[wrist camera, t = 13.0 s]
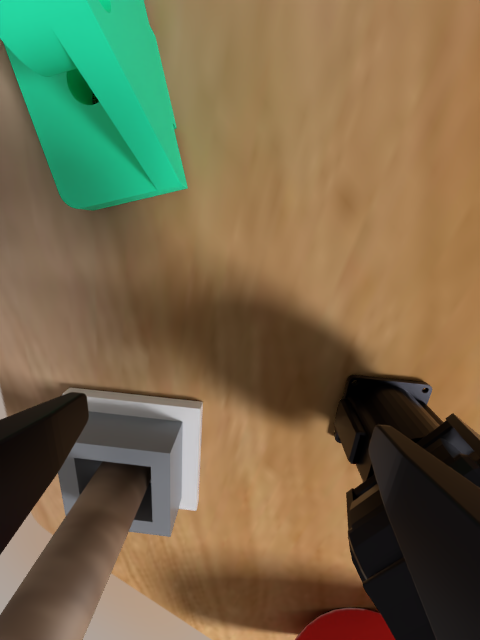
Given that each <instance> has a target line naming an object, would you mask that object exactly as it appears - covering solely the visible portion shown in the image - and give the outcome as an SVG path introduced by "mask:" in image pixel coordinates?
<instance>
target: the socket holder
mask: <svg viewBox="0 0 480 640" xmlns="http://www.w3.org/2000/svg"><path fill="white" fill-rule="evenodd" d="M70 392H79V393H84V394H86V396H87V402H88V411H89V419H88V422H87V424H86V426H85V427H84V429H83V431H82V433H81V434H80V436H79V438H78V440H77V441H76V443H75V445H74V446H73V448H72V450H71V452H70V453H69V455H68V457H67V459H66V460H65V462H64V464H63V465H62V467H61V469H60V470H59V472H58V475H59V481H60V487H61V492H62V498H63V503H64V509H65V514H66V516H67V514H68V513H69V511H70V510H71V508H72V507H73V505H74V504H75V502H76V501H77V499H78V498H79V496H80V495H81V493H82V492H83V490H84V489H85V487H86V486H87V484H88V483H89V481H90V480H91V478H92V476H93V475H94V473H95V472H96V470H97V469H98V467H99V466H100V464H101V463H102V461H106V462H114V463H123V464H131V465H140V466H148V467H151V480H150V482H149V485H148V487H147V490H146V492H145V494H144V497H143V499H142V501H141V504H140V506H139V508H138V511H137V513H136V515H135V518H134V520H133V522H132V525H131V527H130V530H129V532H137V533H145V534H153V535H160V536H168V537H171V533H172V530H173V526H174V523H175V519H176V516H177V512H178V509H186V510H194V511H196V510H197V506H198V501H199V478H200V455H201V432H202V409H203V402H200V401H191V400H181V399H172V398H163V397H154V396H144V395H135V394H126V393H117V392H107V391H98V390H89V389H80V388H69V389H67V390H66V391H65V392H64V393H63V394H62V395H65V394H67V393H70Z"/></svg>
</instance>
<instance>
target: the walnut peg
mask: <svg viewBox="0 0 480 640" xmlns="http://www.w3.org/2000/svg"><path fill="white" fill-rule="evenodd" d="M150 480H151V467H148V466H140V465H131V464H123V463H114V462H106V461H102V463H101V464H100V466H99V467H98V469H97V470H96V472H95V473H94V475H93V476H92V478H91V480H90V481H89V483H88V484H87V486H86V487H85V489H84V490H83V492H82V493H81V495H80V496H79V498H78V499H77V501H76V502H75V504H74V505H73V507H72V508H71V510H70V511H69V513H68V514H67V516H66V517H65V519H64V520H63V522H62V523H61V525H60V526H59V528H58V529H57V531H56V532H55V534H54V535H53V537H52V538H51V540H50V541H49V543H48V544H47V546H46V547H45V549H44V550H43V552H42V553H41V555H40V556H39V558H38V559H37V561H36V562H35V564H34V565H33V567H32V568H31V570H30V571H29V573H28V574H27V576H26V577H25V579H24V580H23V582H22V583H21V585H20V586H19V588H18V589H17V591H16V592H15V594H14V595H13V597H12V598H11V600H10V601H9V603H8V604H7V606H6V607H5V609H4V610H3V612H2V613H1V615H0V640H83V638H84V635H85V633H86V631H87V628H88V626H89V624H90V621H91V619H92V616H93V614H94V612H95V609H96V607H97V605H98V602H99V600H100V598H101V595H102V593H103V591H104V588H105V586H106V584H107V581H108V579H109V577H110V574H111V572H112V570H113V567H114V565H115V562H116V560H117V558H118V555H119V553H120V551H121V548H122V546H123V544H124V541H125V539H126V537H127V534H128V532H129V530H130V527H131V525H132V522H133V520H134V518H135V515H136V513H137V511H138V508H139V506H140V504H141V501H142V499H143V497H144V494H145V492H146V490H147V487H148V485H149V482H150Z"/></svg>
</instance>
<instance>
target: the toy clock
mask: <svg viewBox="0 0 480 640" xmlns="http://www.w3.org/2000/svg"><path fill="white" fill-rule="evenodd" d="M295 640H395V638H394V636H393V635H392V633H391V631H390V629H389V627H388V626H387V624H386V622H385V620H384V619H383V617H382V615H381V613H377V612H374V611H370V610H367V609H359V608H343V609H337V610H333V611H330V612H328V613H325V614H323V615H320V616H319V617H318V618H316V619H315V620H313V621H312V622H311V623H309V624H308V625H307V626H306V627H305V628H304V629H303V631H302V632H301V633H300V634H299V635H298V636H297V637H296V639H295Z"/></svg>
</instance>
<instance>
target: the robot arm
mask: <svg viewBox="0 0 480 640" xmlns="http://www.w3.org/2000/svg"><path fill="white" fill-rule="evenodd" d="M354 380H357V381H356V382H355V383H352V382H353V381H354ZM423 388H425V389H424V390H422V389H423ZM431 392H432V387H431V386H430V385H429V384H427V383H426V382H418V381H408V380H399V379H389V378H379V377H369V376H360V375H352V376H350V377H349V378H348V379H347V383H346V387H345V391H344V396H343V398H342V399H341V400H340V401H339V405H338V409H337V413H336V418H335V422H334V425H335V428H336V429H335V433H334V437H335V440H336V441H337V442H338V443H342V446H343V448H344V451H345V453H346V456H347V458H348V461H349V462H350V463H351V464H356V466H357V468H358V471H359V473H360V475H361V478H362V480H363V483H362V484H360V485H359V486H358V487H356V488H355V489H353V488H352V489H351V490H349V491H348V492H347V493H346V498H347V515H348V539H349V546H350V552H351V556H352V561H353V564H354V565H355V567H356V570H357V572H358V574H359V576H360V578H361V580H362V582H363V587H364V589H365V591H366V593H367V594H368V595H369V597H370V598H371V600H372V601H373V603H374V604H375V606H376V607H377V609H378V610H379V612H380V613H381V615H382V617H383V619H384V620H385V622H386V624H387V626H388V627H389V629H390V631H391V633H392V635H393V636H394V638H395V640H480V435H479V434H477V433H476V432H475V431H474V430H473V429H471V428H470V427H469V426H468V425H467V424H465V423H464V422H463V421H462V420H461V419H459V418H458V417H457V416H456V415H454V414H453V413H452V414H451V415H450V416H448V417H447V418H446V420H447V421H445V422H443V421H442V420H441V419H440V418H439V417H438V416H437V415H436V414H435V413H434V412H433V411H432V410H431V409H430V408H429V407H428V406H427V403H428V400H429V398H430V395H431ZM88 419H89V411H88V402H87V396H86V394H84V393H79V392H70V393H67V394H65V395H62V396H60V397H57V398H54V399H52V400H49V401H47V402H44V403H42V404H39V405H37V406H34V407H32V408H29V409H27V410H24V411H21V412H19V413H16V414H14V415H11V416H9V417H6V418H4V419H1V420H0V554H1V553H2V551H3V550H4V549H5V547H6V546H7V544H8V543H9V541H10V540H11V539H12V537H13V536H14V534H15V533H16V532H17V530H18V529H19V527H20V526H21V524H22V523H23V521H24V520H25V519H26V517H27V516H28V514H29V513H30V512H31V510H32V509H33V507H34V506H35V505H36V503H37V502H38V500H39V499H40V497H41V496H42V495H43V493H44V492H45V490H46V489H47V487H48V486H49V485H50V483H51V482H52V480H53V479H54V478H55V476H56V475H57V473H58V472H59V470H60V469H61V467H62V465H63V464H64V462H65V460H66V459H67V457H68V455H69V453H70V452H71V450H72V448H73V446H74V445H75V443H76V441H77V440H78V438H79V436H80V434H81V433H82V431H83V429H84V427H85V426H86V424H87V422H88Z"/></svg>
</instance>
